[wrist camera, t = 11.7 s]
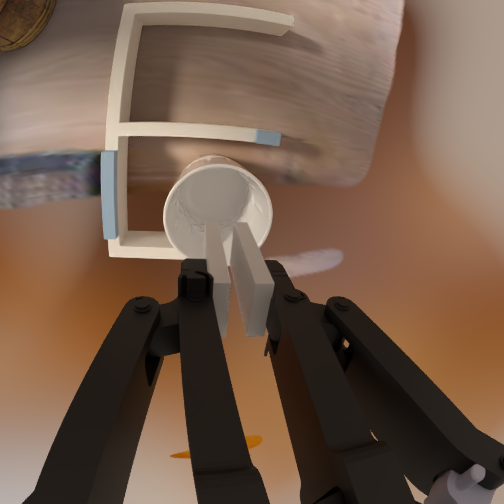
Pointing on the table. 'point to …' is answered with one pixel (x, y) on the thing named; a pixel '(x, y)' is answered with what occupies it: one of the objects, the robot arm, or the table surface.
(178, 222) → the white cup
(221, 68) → the table surface
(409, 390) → the robot arm
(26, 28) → the wooden mug
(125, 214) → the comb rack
